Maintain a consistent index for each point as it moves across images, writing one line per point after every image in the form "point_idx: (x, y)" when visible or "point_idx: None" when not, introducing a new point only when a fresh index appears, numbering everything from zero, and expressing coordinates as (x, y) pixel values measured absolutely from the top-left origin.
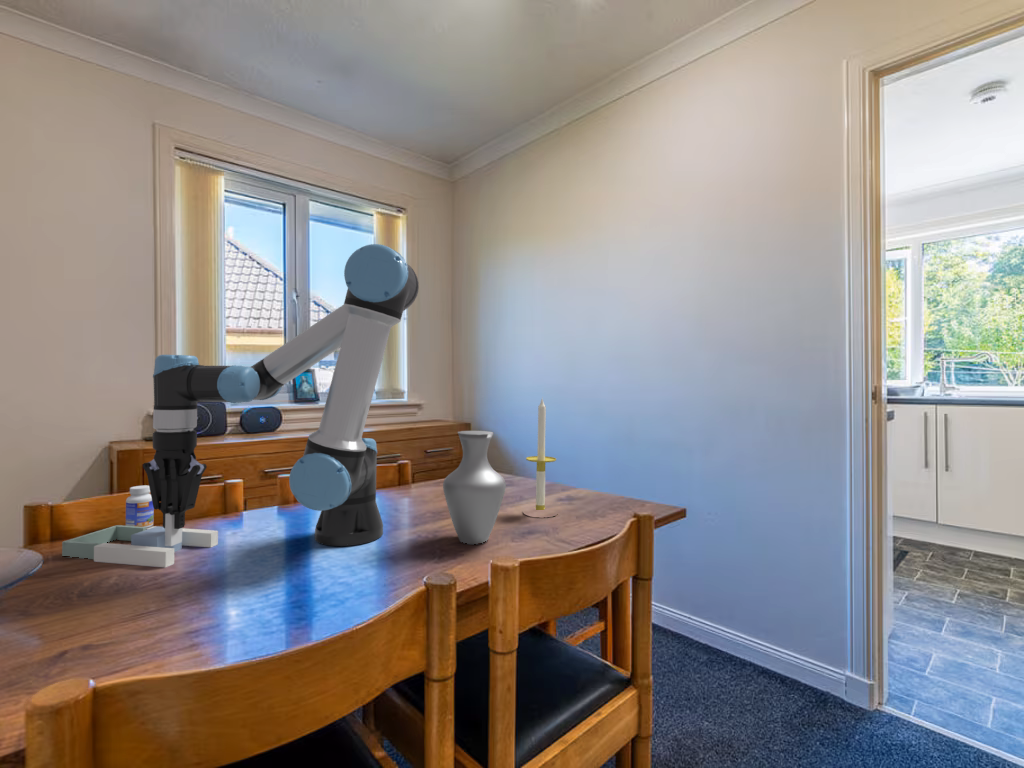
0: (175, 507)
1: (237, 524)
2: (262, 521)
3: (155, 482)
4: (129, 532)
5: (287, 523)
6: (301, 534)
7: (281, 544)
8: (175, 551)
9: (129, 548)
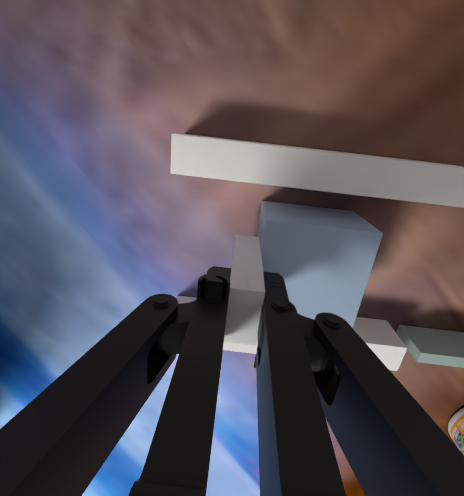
0: (206, 309)
1: (234, 443)
2: None
3: (420, 488)
4: (459, 346)
5: (120, 450)
6: (28, 389)
7: (17, 326)
8: None
9: (331, 159)
